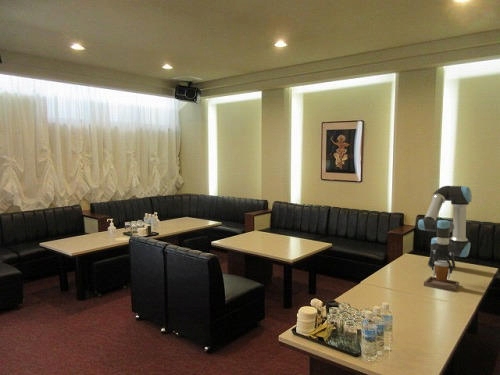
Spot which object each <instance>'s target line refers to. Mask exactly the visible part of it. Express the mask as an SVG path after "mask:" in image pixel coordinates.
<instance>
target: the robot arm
mask: <svg viewBox="0 0 500 375" xmlns="http://www.w3.org/2000/svg"><path fill="white" fill-rule="evenodd" d="M472 198H473V197H472V191H471V188H470V187H469V186H464V185H444V186H441V187H439V188H438V189H437V190H435V191H434V192H433V194H432V196H431V202H430V204H429V205H428V206H429V207H428V208H427V210H426V214H425V215H424V218H422V219H419V220H418V221H417V227H418V229H419V230H421V231H429V232H436V237H432V238H431V242H430V256H429V259H428V261H427V266H429V267H430V268H431V270H432V271H433V273H432V274H433V275H432V277H435V276H436V270H435V261H437V260H444V261H447V263H449V269H448V276H447V279H450V278H451V274H453V269H455V268H456V262H455V257H461V258H466V257H468V256H469V254H470V249H471V242H470V241H469V239H468V238H467V235H466V234H467V232H466V231H467V206H469V205H470V204H469V203H472ZM445 202H450V203H451V205H452V206H453V208H452V210H453V211H452V221H449V220H447V219H445V220H444V219H439V220H437V218H438V216H439V213H440V211H441V208H442V206H443V204H444V203H445ZM450 233H452V236H451V237H450ZM449 256H450V259H451V261H450V259H449Z"/></svg>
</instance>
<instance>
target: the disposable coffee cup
mask: <svg viewBox="0 0 500 375" xmlns="http://www.w3.org/2000/svg"><path fill="white" fill-rule="evenodd" d="M448 269H449V263H447V261H444V260H437V261H435V270H436V275H435V276H436V279H438V280H442V281H446V280H448Z"/></svg>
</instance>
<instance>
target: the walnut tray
mask: <svg viewBox="0 0 500 375" xmlns="http://www.w3.org/2000/svg"><path fill="white" fill-rule="evenodd" d="M459 285H460V281H456V280H451V279H447V280H446V281H442V280H438V279H436V277H435V276H429V277H427V279H426V280H424V281H423V286H425V287H429V288H434V289H438V290H444V291H449V292H453V293H455V291H456V290H457V289H458V288H459Z"/></svg>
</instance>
